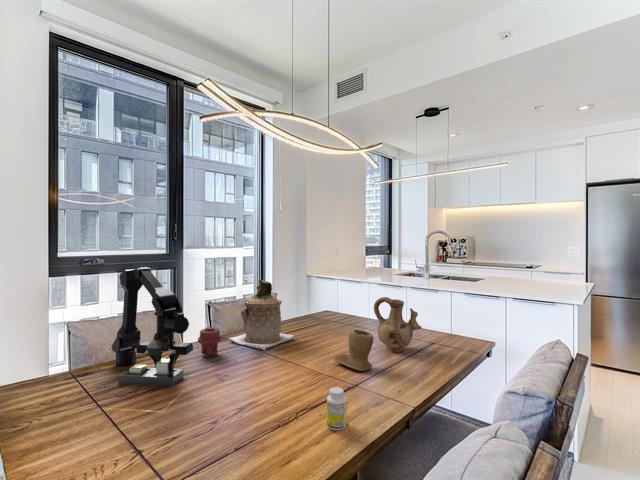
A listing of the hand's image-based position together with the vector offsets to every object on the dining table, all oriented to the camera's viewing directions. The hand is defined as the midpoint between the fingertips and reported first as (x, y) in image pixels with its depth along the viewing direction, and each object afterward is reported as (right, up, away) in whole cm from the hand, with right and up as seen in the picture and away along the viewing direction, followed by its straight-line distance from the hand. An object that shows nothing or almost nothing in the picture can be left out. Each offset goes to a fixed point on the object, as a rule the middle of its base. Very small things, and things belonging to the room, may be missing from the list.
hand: (164, 371), depth 125 cm
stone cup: (+71, -5, +18) cm, 74 cm away
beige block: (-10, -3, +1) cm, 11 cm away
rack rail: (-5, -4, 0) cm, 6 cm away
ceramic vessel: (+93, -5, +38) cm, 101 cm away
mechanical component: (+7, -4, +29) cm, 30 cm away
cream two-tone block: (0, -1, 0) cm, 1 cm away
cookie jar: (+27, -4, +52) cm, 58 cm away
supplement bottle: (+61, -5, -27) cm, 67 cm away
